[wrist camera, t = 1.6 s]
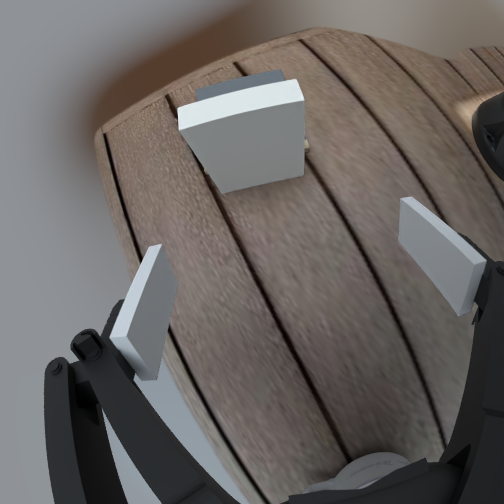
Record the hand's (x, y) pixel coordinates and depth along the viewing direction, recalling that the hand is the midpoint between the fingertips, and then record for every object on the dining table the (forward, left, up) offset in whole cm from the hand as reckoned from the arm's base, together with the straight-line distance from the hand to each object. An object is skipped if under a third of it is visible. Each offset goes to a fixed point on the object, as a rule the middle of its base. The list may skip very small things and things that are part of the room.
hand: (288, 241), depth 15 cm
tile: (-8, -10, -17) cm, 21 cm away
